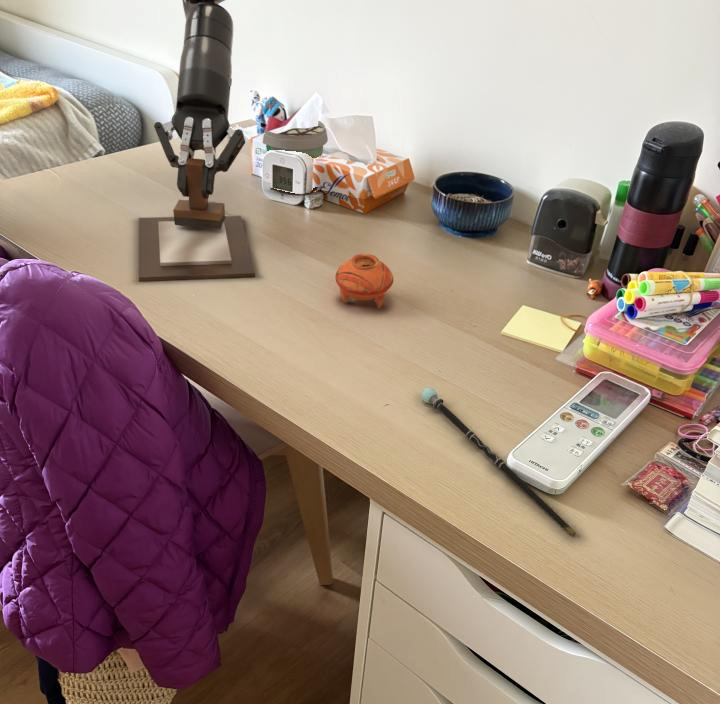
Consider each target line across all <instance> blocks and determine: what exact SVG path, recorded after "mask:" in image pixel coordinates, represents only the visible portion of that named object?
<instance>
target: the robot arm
mask: <svg viewBox="0 0 720 704" xmlns="http://www.w3.org/2000/svg"><path fill="white" fill-rule="evenodd" d="M181 1H182V8H183V13H184V17H185V18H184V19H185V24H184V34H183V35H184V36H183V44H182V45H183V46H182V52H181V55H180V61H179V71H178V83H177V93H176V103H175V104H176V105H175V111H174V114H173V115H172V117H171V120H170V121H168V122H165V123H162V122H160V121H156V122H154V125H153V128H154V130H155V133H156V135H157V137H158V140H159V142H160V145H161V148H162V150H163V152H164V155H165V158H166V159H167V161H168V163H169V166H170V167H171V168H173V169H174V168H176V169H177V178H176V186H177V189H178V191H179V192H180V193H181V195H182V197H186V198H187V197H188V186H187V175H186V165H185V164H186V162H187V160H188V159H189V158H193V159H195V158H194V157H195V153H196V151H200V150H201V151H203V152H204V159H205V168H203V177H202V188H201V193H202V196H203V198H208V199H209V198H210V196H211V195H213V193H214V192H215V191H214V189H215V178H216V174H217V173H219V172H223V173H226V172H228V171H229V170H230V168H231V166H232V165H233V163H234V161H235V160H236V159H237V157H238V155H239V154H240V152H241V150H242V149H243V147H244V146H245V144H246V139H245V134H244V132H243V130H242V129H240V128H237V129H235V128H234V127H232V126H231V124H230V122H229V111H230V110H229V108H230V97H231V87H232V83H233V82H232V81H233V79H232V74H233V73H232V72H233V67H232V64H233V63H232V56H233V55H232V54H233V42H234V29H235V28H234V21H233V17H232V16H231V14H230V12H229V11H228V10H227V9H226V8H225V7H223V6H222V5H220V4H221V3H223V2H225V1H226V0H181ZM173 132H176V134H177V136H178V137H179V139H180V145H179V149H180V150H179V153H178V154H179V155H176V153H175V151H174V148H173V147H172V144H171V141H172V139H173V137H174V135H173ZM226 137H227V139H226V140H227V143H226V145H225V147H224V148H223V150H222V151H221V153H220V154H219V156H218V157H217V147H218V146H219V145H220V144H221V143H222V142H223V141H224V139H225V138H226ZM188 198H189V197H188Z"/></svg>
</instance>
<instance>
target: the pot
mask: <svg viewBox="0 0 720 704" xmlns="http://www.w3.org/2000/svg"><path fill="white" fill-rule="evenodd" d="M334 280H335V283H336V285H337V286H338V288H339V291H340V295H341V299H342V302H343V303H348V300H349V298H350V297H351V298H353V299H355V300H360V301H370V300H374V301H375V303H376V308H377V309H379V308H381V307H382V304H383V302H384V299H385V293H387V292H388V291H389V290H390V289H391V288H392V286H393V284H394V275H393V273H392V271H391V269H390V268H389V267H388V265H386V264H385V263H384V262H382V261H381V260H380V259H379V258H378V257H377V256H376V255H373V254H370V253H368V254H366V253H358V254H356V255H353V257H352V258H350V259H348V260H347V261H345V262H344V263H342V265H341V266H340V267H338V269H337V270H336V272H335V276H334Z"/></svg>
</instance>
